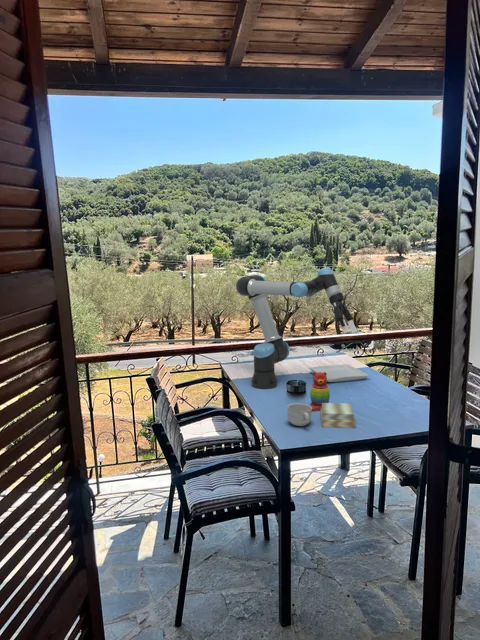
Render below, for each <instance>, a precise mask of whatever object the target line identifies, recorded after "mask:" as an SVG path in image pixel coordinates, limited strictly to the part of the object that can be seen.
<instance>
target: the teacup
mask: <svg viewBox="0 0 480 640" xmlns="http://www.w3.org/2000/svg"><path fill="white" fill-rule="evenodd" d="M309 405H310V404H306V403H300V402H299V403H297V402H296V403H290V404H288V405H287V406H286V407H287V420H288V422H289V423H291V424H292V425H293V426H297V427H304V426H307V425H308V424H309V423H310V422H311V420H312V414H313V413H312V412H313V411H312V407H311V406H309Z"/></svg>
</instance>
